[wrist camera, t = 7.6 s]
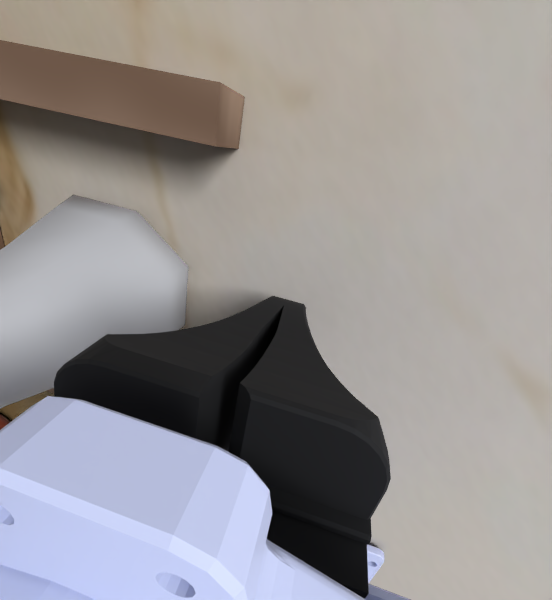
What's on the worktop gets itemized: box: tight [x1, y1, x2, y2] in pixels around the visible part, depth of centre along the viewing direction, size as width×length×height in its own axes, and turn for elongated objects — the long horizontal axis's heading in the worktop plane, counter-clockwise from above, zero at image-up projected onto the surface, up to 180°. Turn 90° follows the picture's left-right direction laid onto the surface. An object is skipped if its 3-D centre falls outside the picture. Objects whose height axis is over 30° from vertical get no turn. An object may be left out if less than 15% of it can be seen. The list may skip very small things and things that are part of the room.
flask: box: [0, 195, 188, 408], centre depth 9 cm, size 7×7×10 cm
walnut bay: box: [0, 40, 245, 393], centre depth 13 cm, size 16×12×2 cm
